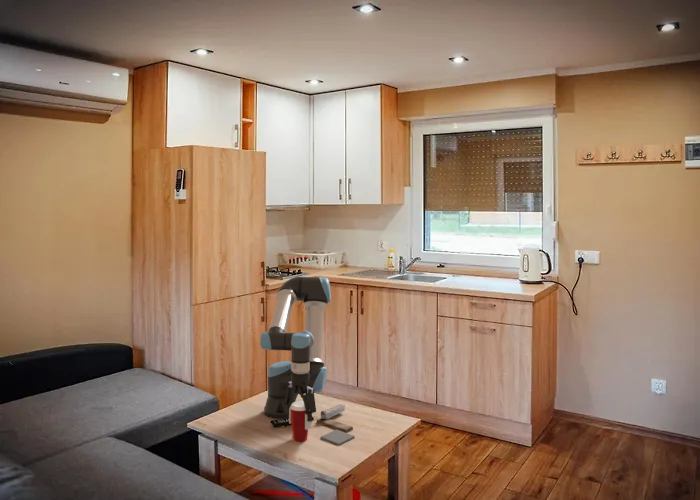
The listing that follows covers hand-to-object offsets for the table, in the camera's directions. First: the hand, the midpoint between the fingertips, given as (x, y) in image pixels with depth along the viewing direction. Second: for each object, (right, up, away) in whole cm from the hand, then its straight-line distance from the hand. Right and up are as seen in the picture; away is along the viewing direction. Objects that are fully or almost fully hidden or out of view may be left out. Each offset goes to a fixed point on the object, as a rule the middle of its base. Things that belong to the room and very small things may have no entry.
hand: (299, 425), depth 236 cm
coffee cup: (0, -6, 0) cm, 6 cm away
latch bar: (+12, -2, +24) cm, 27 cm away
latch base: (+14, -5, +15) cm, 21 cm away
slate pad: (+15, -6, +2) cm, 17 cm away
